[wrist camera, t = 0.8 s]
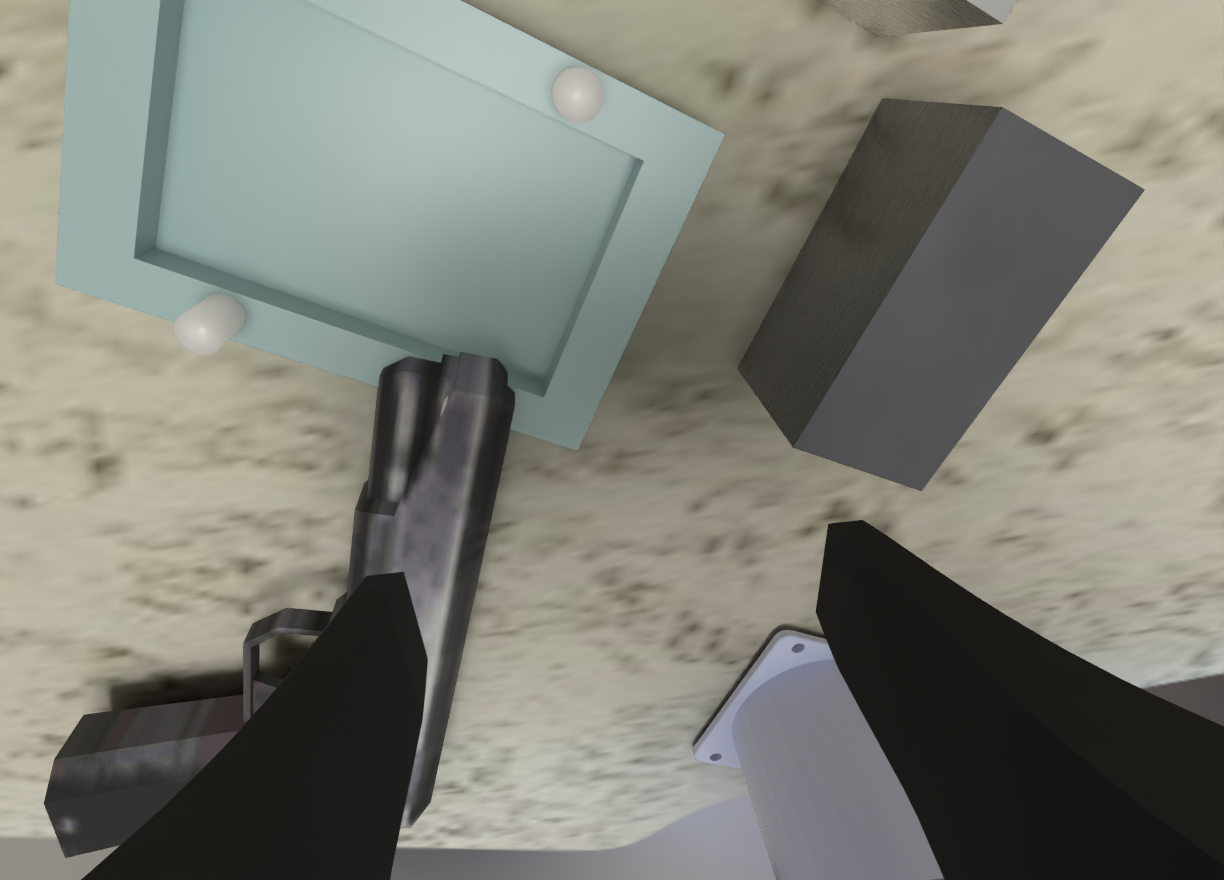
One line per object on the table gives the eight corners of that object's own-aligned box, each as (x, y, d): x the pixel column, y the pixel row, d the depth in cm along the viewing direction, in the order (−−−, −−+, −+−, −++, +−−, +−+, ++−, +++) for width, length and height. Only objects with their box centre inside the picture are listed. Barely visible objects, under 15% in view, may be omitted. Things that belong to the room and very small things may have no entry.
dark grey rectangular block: (880, 98, 17) (1002, 107, 12) (995, 161, 18) (1144, 189, 14) (736, 366, 20) (793, 447, 16) (841, 405, 21) (921, 490, 17)
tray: (706, 129, 16) (742, 139, 14) (573, 421, 20) (580, 477, 17) (134, -161, 13) (24, -226, 10) (100, 264, 16) (13, 302, 14)
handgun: (60, 871, 22) (418, 872, 25) (-75, 303, 13) (518, 406, 16) (110, 782, 25) (427, 791, 28) (28, 262, 16) (517, 355, 19)
